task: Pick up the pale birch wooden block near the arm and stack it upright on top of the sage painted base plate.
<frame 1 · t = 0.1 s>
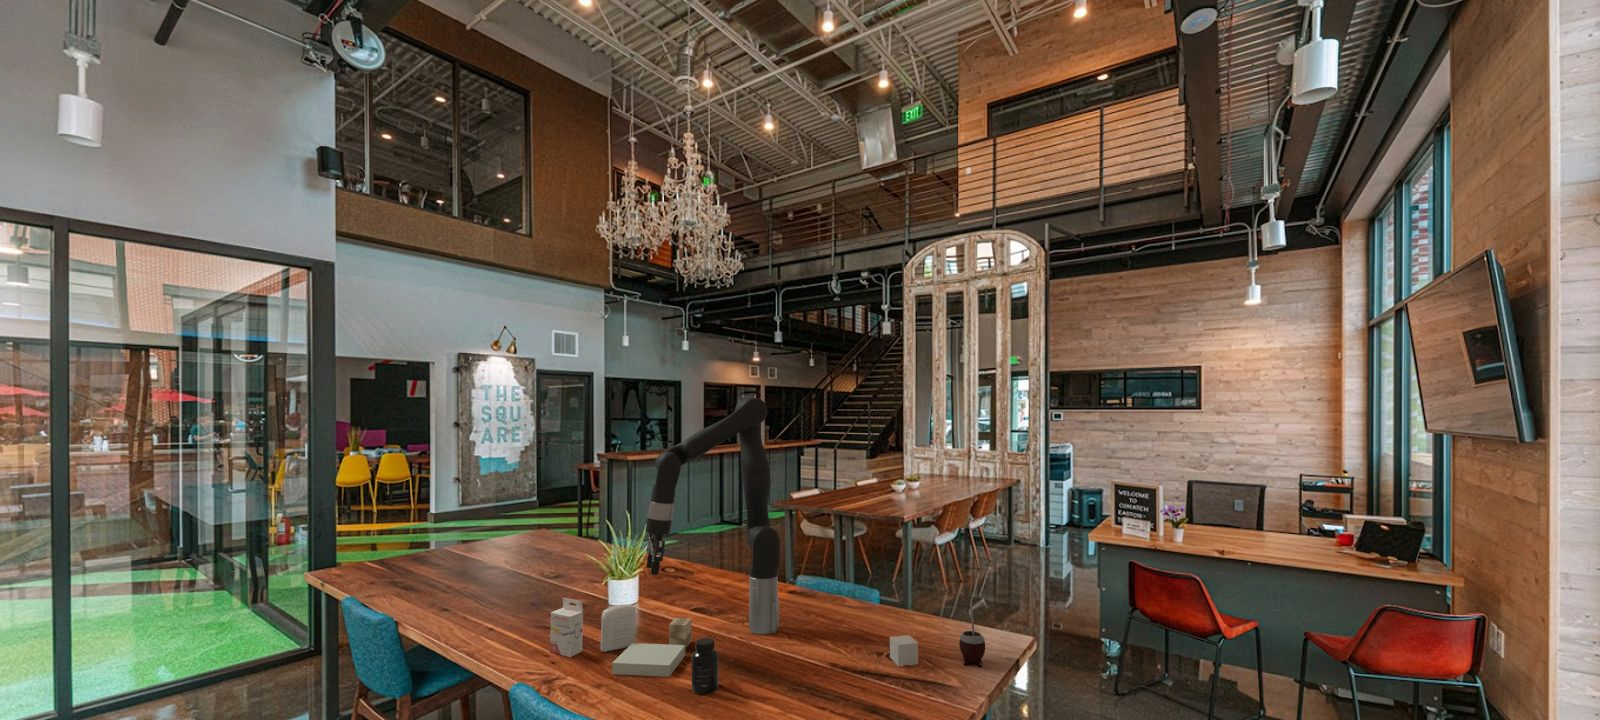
hand: (651, 571, 188), 22 cm above the table, tool pointing down, fingers open, 8 cm apart
base plate: (649, 664, 174), on the table
birch block: (680, 645, 188), on the table
supplement bottle: (704, 689, 159), on the table
grey cube: (904, 662, 175), on the table
photo printer: (618, 648, 186), on the table
mate gourd: (972, 663, 174), on the table
ink cartridge box: (565, 652, 183), on the table
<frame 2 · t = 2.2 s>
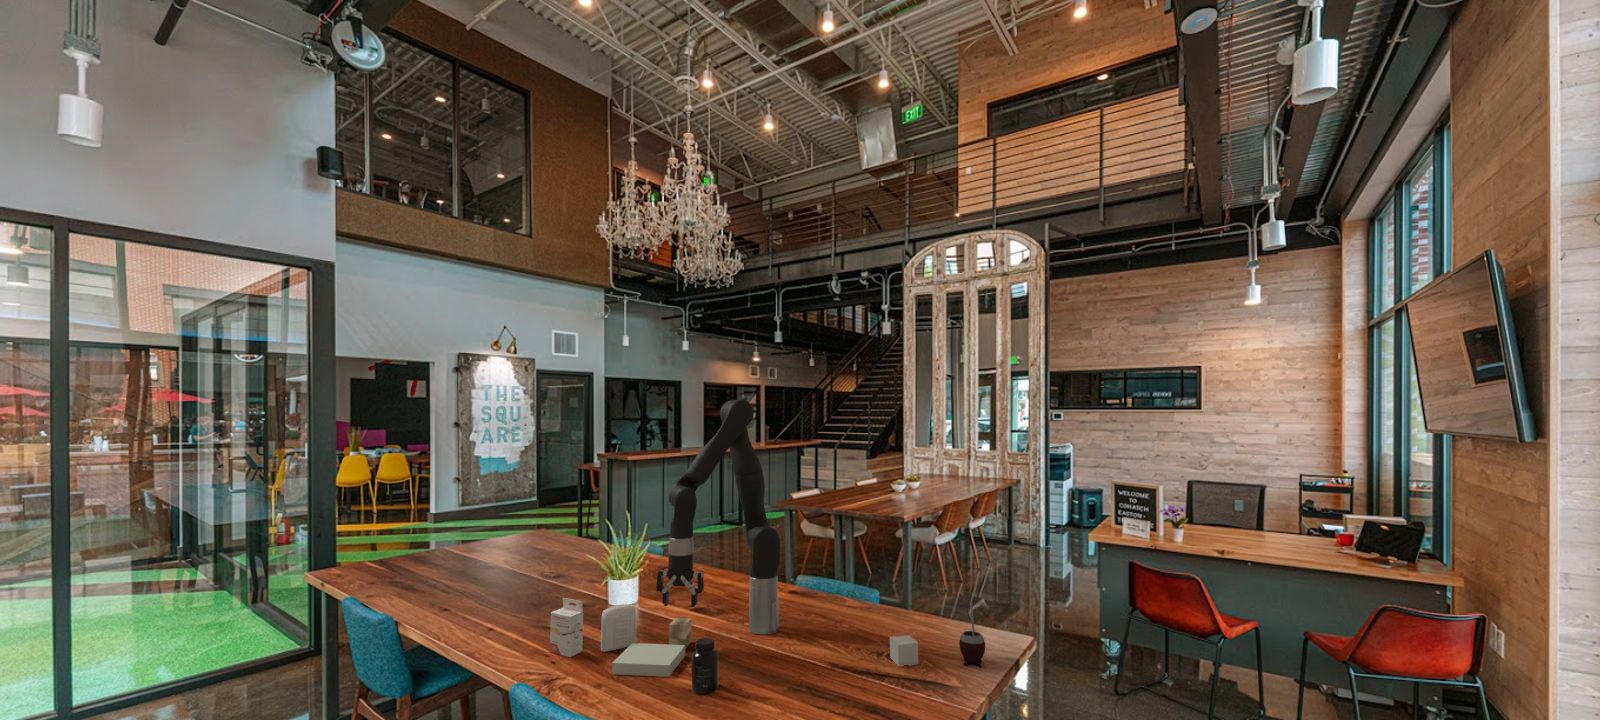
hand: (679, 605, 189), 12 cm above the table, tool pointing down, fingers open, 8 cm apart
nothing on the table moved.
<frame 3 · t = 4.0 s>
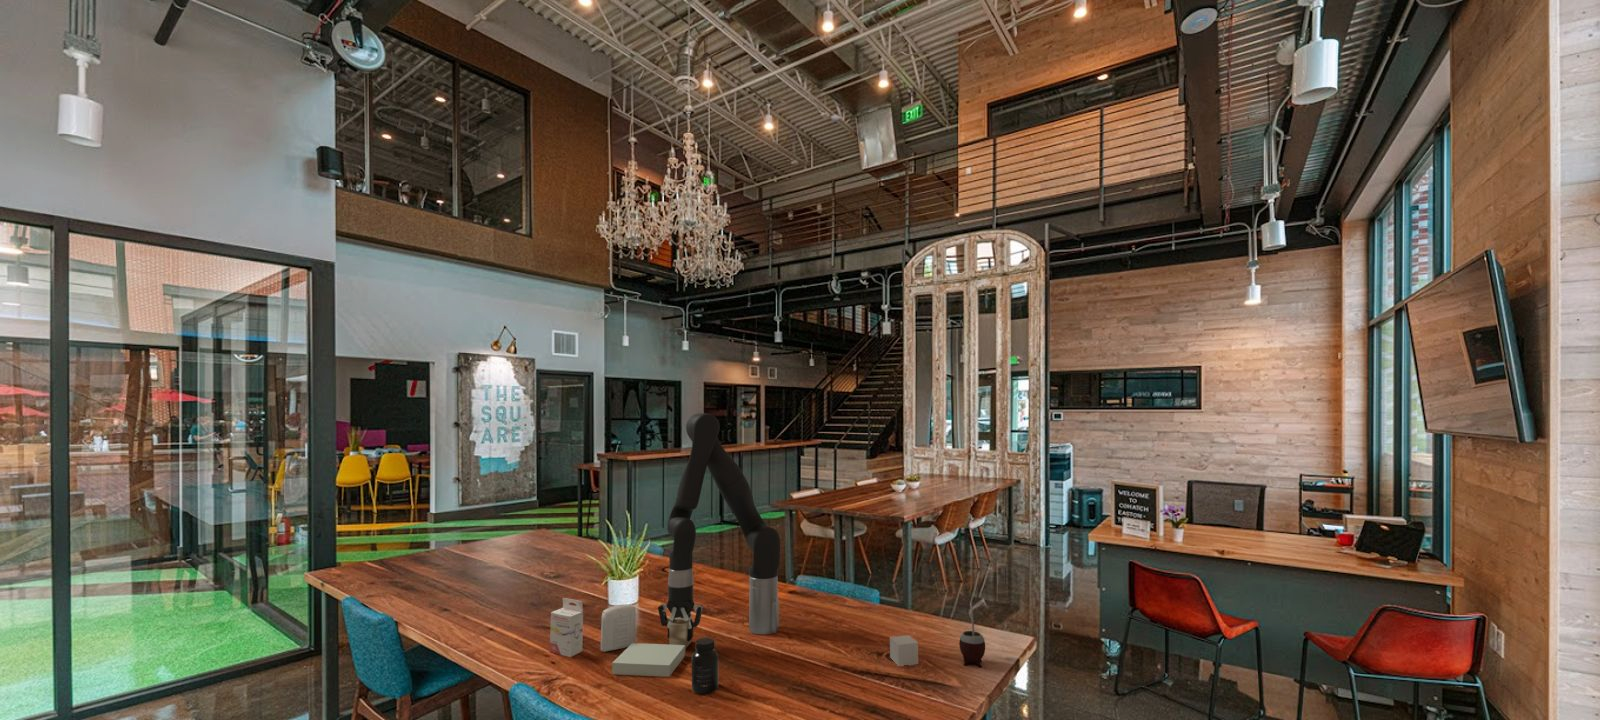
hand: (680, 639, 188), 1 cm above the table, tool pointing down, fingers closed on birch block, 5 cm apart
birch block: (680, 644, 188), on the table, touching gripper
everything else where it was.
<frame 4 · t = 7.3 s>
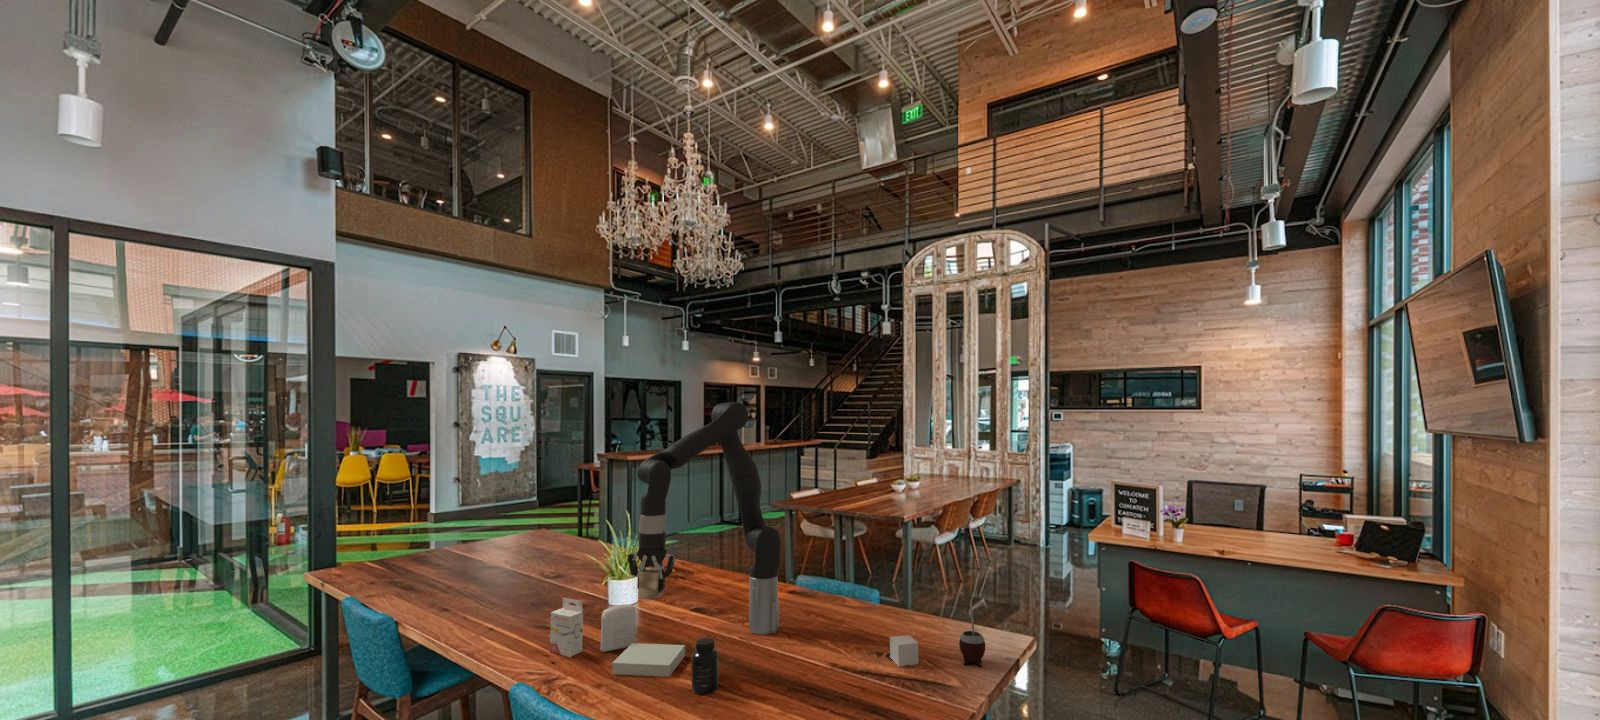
hand: (650, 590, 176), 20 cm above the table, tool pointing down, fingers closed on birch block, 5 cm apart
birch block: (650, 596, 176), point 19 cm above the table, touching gripper
everything else where it was.
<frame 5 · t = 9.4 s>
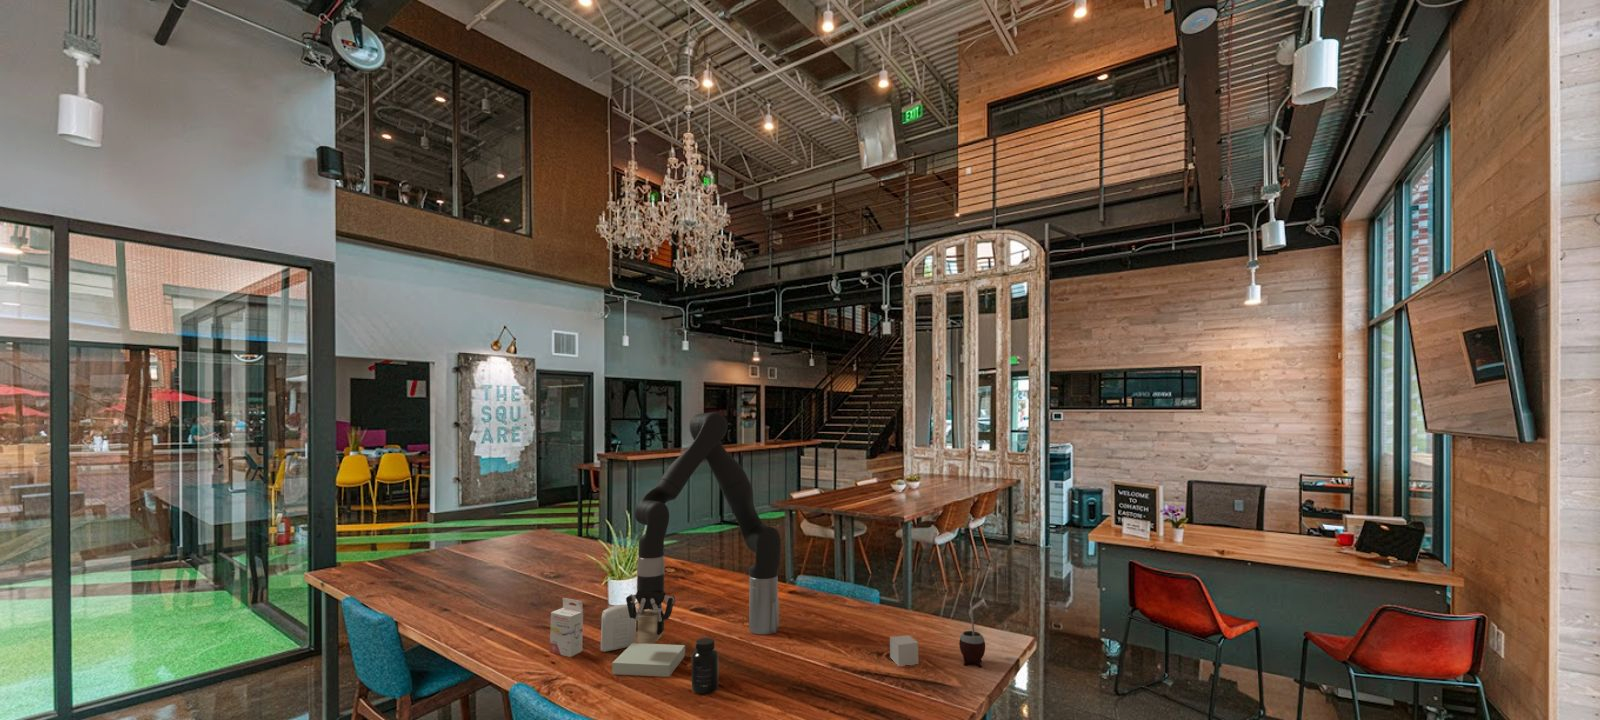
hand: (649, 633, 174), 9 cm above the table, tool pointing down, fingers closed on birch block, 5 cm apart
birch block: (649, 638, 174), point 7 cm above the table, touching gripper
everything else where it was.
when the fingers open (6 cm above the table, at t = 10.9 s): birch block drops 1 cm, resting on base plate.
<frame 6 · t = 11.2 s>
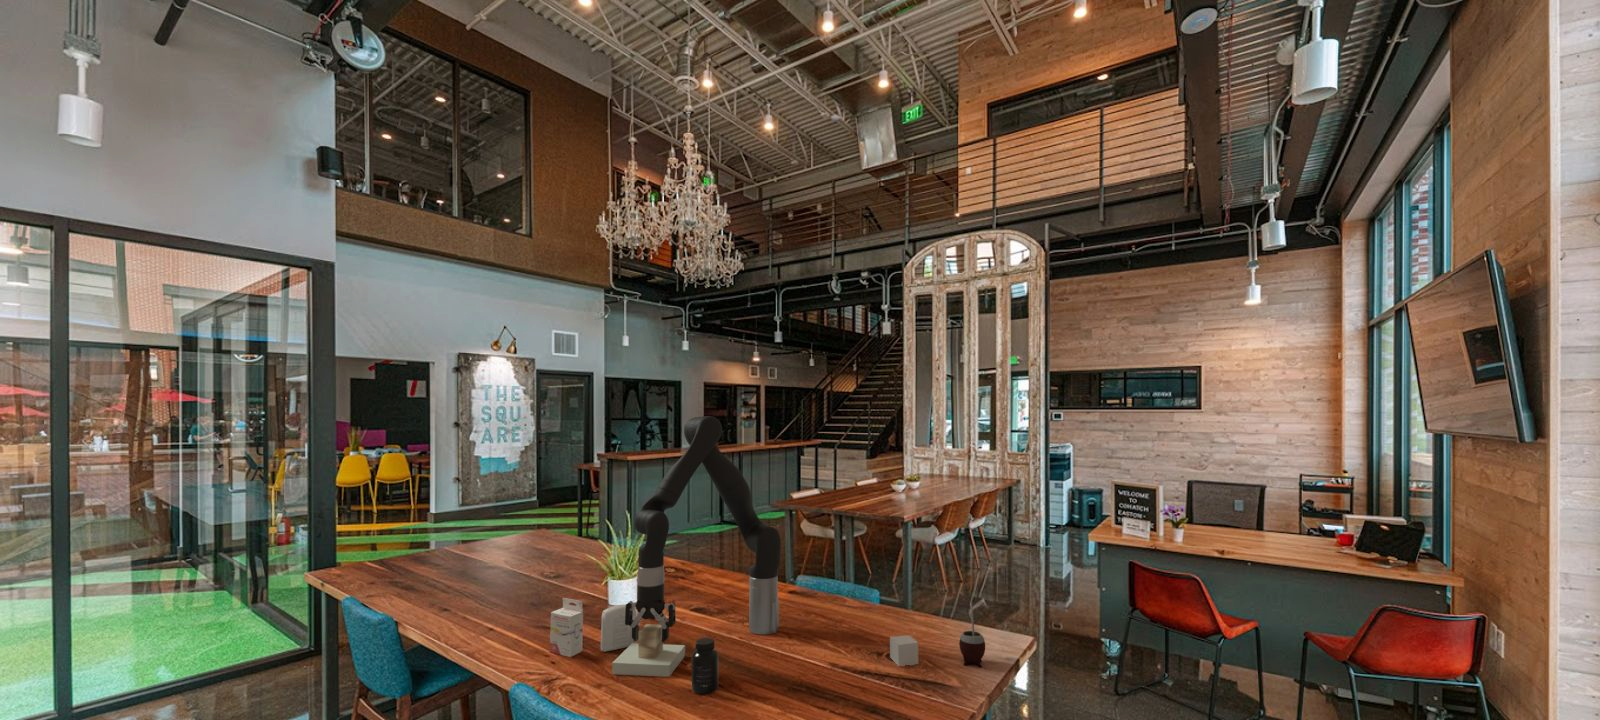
hand: (650, 640, 174), 7 cm above the table, tool pointing down, fingers open, 8 cm apart
birch block: (650, 653, 174), point 3 cm above the table, touching base plate
everything else where it was.
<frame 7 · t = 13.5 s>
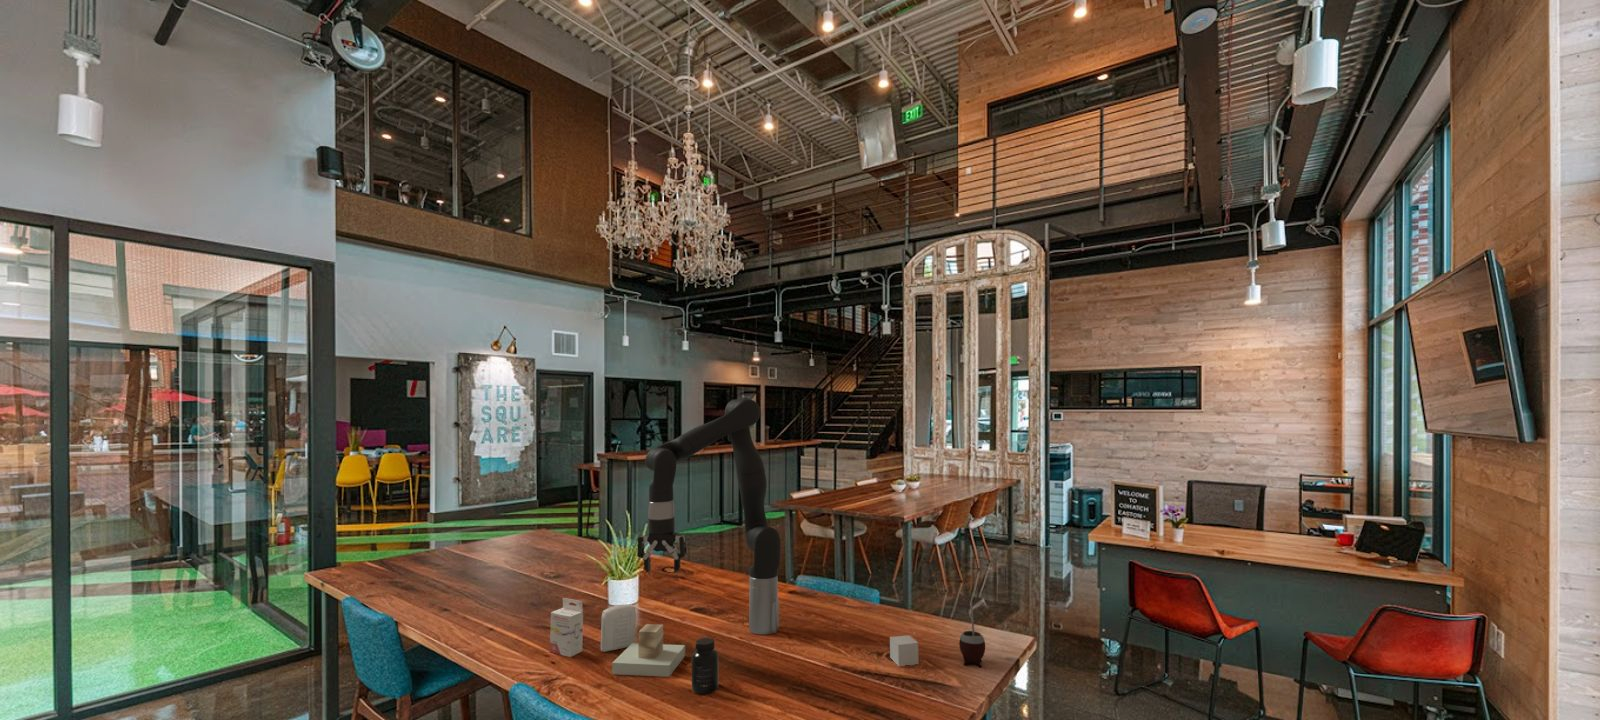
hand: (662, 571, 182), 24 cm above the table, tool pointing down, fingers open, 8 cm apart
nothing on the table moved.
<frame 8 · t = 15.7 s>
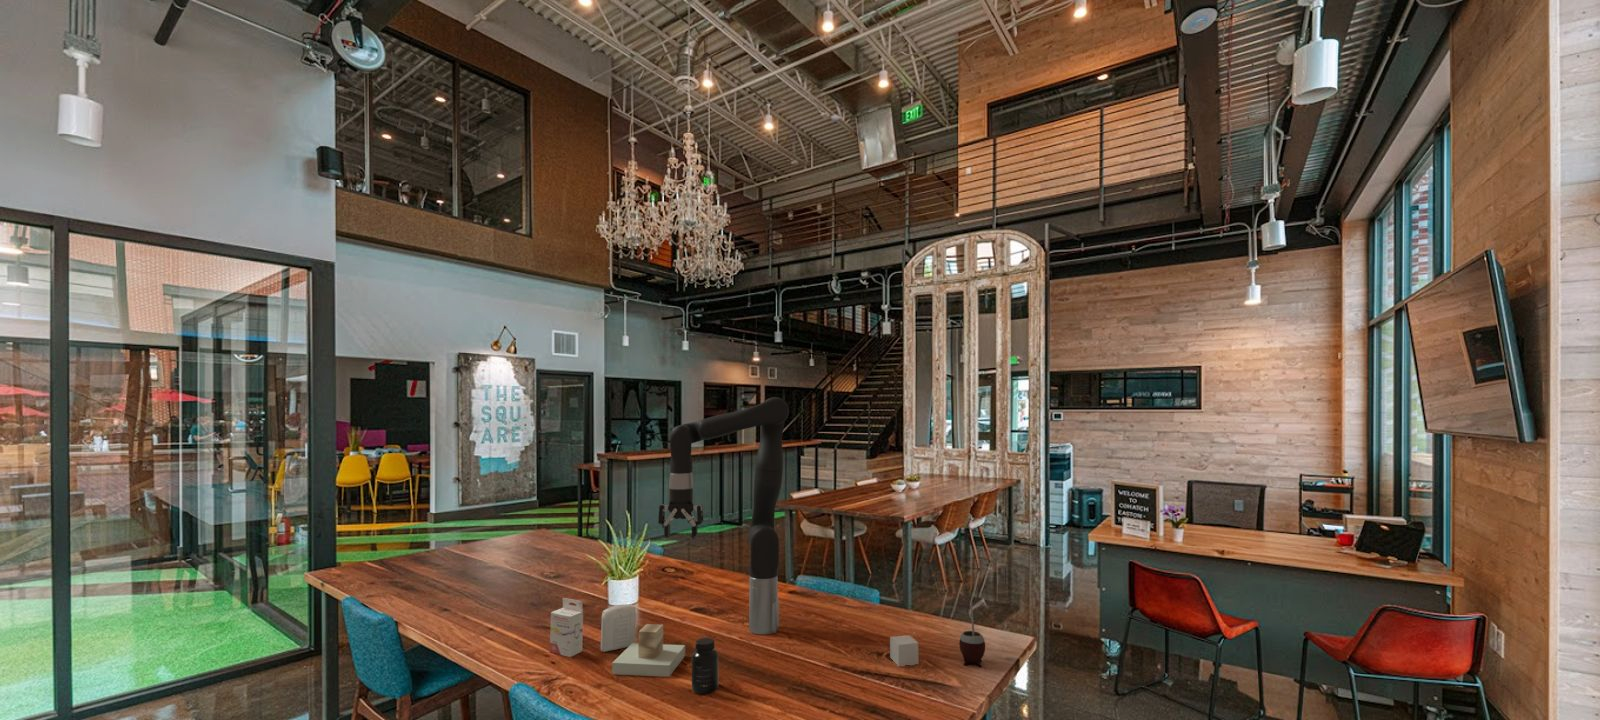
hand: (680, 537, 199), 30 cm above the table, tool pointing down, fingers open, 8 cm apart
nothing on the table moved.
at the end: birch block inside the target area on the base plate (0.2 cm from its centre), point 3.0 cm above the base plate's base; birch block tilted 0°; the gripper is holding nothing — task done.
